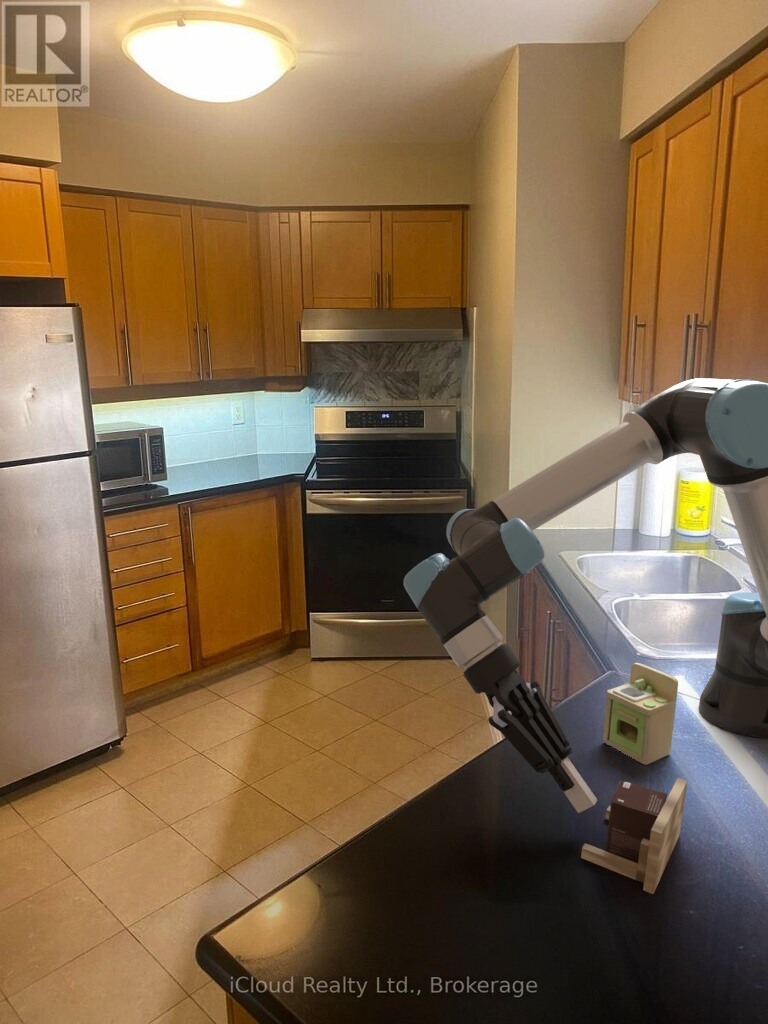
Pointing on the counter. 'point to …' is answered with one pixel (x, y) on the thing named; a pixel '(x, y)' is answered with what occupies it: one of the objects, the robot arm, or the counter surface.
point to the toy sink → (642, 714)
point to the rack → (648, 844)
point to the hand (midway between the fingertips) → (587, 806)
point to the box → (632, 818)
